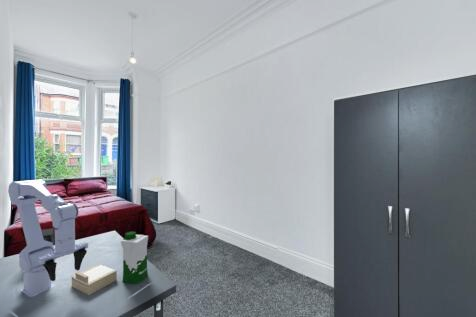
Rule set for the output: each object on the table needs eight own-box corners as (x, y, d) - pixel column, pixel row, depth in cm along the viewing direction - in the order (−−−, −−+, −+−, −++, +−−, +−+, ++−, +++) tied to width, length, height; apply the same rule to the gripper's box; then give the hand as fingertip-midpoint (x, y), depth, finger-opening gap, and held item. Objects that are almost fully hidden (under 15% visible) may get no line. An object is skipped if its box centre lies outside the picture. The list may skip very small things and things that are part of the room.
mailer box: (71, 287, 87) (71, 276, 87) (99, 274, 96) (99, 264, 96) (88, 296, 81) (88, 284, 81) (116, 281, 91) (116, 270, 91)
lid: (73, 278, 86) (73, 272, 86) (100, 266, 96) (100, 260, 96) (87, 285, 82) (87, 278, 82) (114, 271, 91) (114, 265, 91)
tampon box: (30, 260, 110) (29, 231, 109) (54, 254, 115) (53, 227, 115) (26, 269, 101) (25, 238, 100) (52, 263, 106) (51, 233, 106)
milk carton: (133, 272, 97) (132, 229, 97) (151, 275, 96) (150, 230, 95) (118, 284, 89) (118, 236, 88) (138, 287, 87) (137, 238, 87)
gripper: (45, 247, 70) (46, 288, 70) (92, 233, 83) (92, 268, 83) (35, 243, 73) (36, 282, 74) (82, 230, 86) (82, 263, 86)
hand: (65, 274), depth 79 cm, fingers open, 7 cm apart
